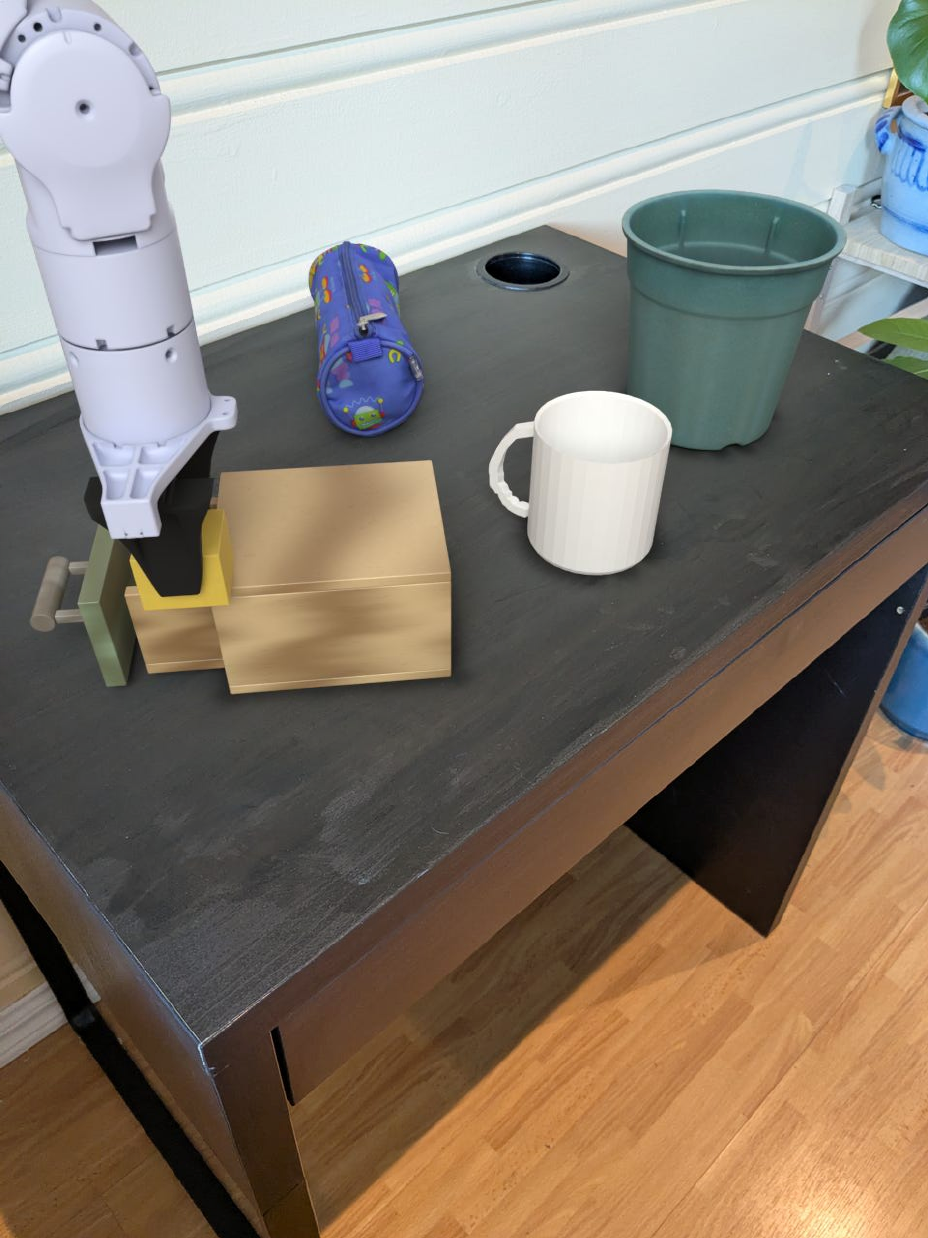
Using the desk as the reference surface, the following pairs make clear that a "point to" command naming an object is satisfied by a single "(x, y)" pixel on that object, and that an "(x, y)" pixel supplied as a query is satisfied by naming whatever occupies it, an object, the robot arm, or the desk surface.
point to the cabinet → (334, 577)
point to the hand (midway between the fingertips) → (184, 563)
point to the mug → (590, 480)
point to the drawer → (125, 615)
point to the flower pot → (721, 306)
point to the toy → (214, 570)
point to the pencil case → (362, 341)
